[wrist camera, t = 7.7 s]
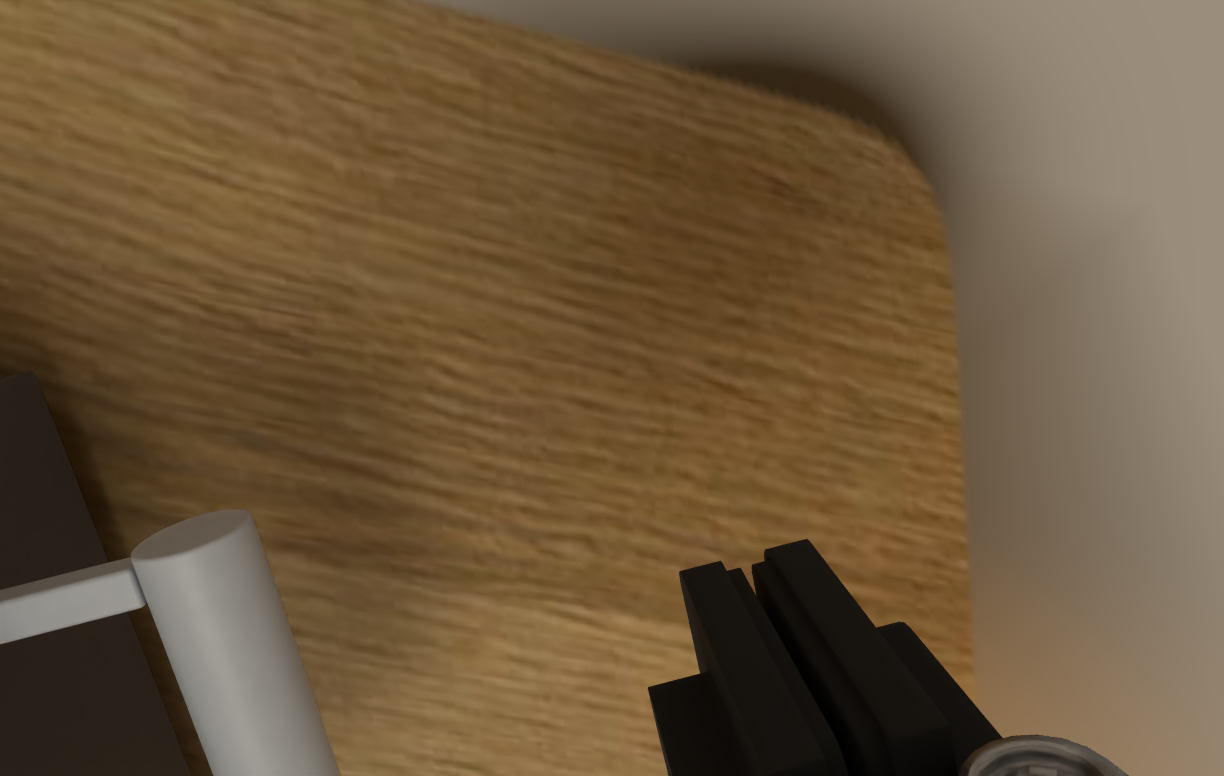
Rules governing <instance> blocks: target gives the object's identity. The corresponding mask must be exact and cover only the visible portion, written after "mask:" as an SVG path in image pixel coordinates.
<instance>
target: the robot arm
mask: <svg viewBox="0 0 1224 776" xmlns="http://www.w3.org/2000/svg"><path fill="white" fill-rule="evenodd" d="M764 559H765V561H764V562H760V563H756V564H752V575H753V580H754V586H755V591H756V595H755V593H754V591H753V589H752V587H751V586H750V584H749V582H748V580H747V579H746V577H745V575H744V573H743V571H742V570H741V568H737V569H733V570H729V571H726V569H725V567H724V565H723V563H722V562H721V561H718V562H714V563H710V564H706V565H702V566H698V567H694V568H690V569H687V570H683V571H679V576H680V582H681V587H682V592H683V596H684V601H685V606H686V610H687V615H688V619H689V624H690V629H691V633H692V638H693V642H694V647H695V652H696V656H697V661H698V665H699V670H700V674H697V675H693V676H689V677H685V678H681V679H678V680H674V681H670V682H666V683H662V684H658V685H655V686H651V687H648V691H649V696H650V700H651V704H652V709H653V713H654V717H655V721H656V726H657V730H658V734H659V738H660V743H661V747H662V751H663V755H664V759H665V763H666V767H667V771H668V775H669V776H1128V775H1127V774H1126V773H1124V772H1123V771H1122V770H1121V769H1119V768H1118V767H1117V766H1115V765H1114V764H1113V763H1112V762H1110V761H1109V760H1108V759H1106V758H1105V757H1103V756H1101V755H1100V754H1098V753H1096V752H1095V751H1093V750H1091V749H1090V748H1088V747H1086V746H1083V745H1080V744H1077V743H1074V742H1071V741H1069V740H1066V739H1063V738H1056V737H1049V736H1043V735H1020V736H1010V737H1006V738H1002V737H1001V736H1000V734H999V733H998V732H997V731H996V729H995V728H994V727H993V726H992V725H991V724H990V722H989V721H988V720H987V719H986V718H985V716H984V715H983V714H982V713H981V712H980V710H979V709H978V708H977V707H976V706H975V704H974V703H973V702H972V701H971V700H970V698H969V697H968V696H967V695H966V694H965V692H964V691H963V690H962V689H961V688H960V687H959V685H958V684H957V683H956V682H955V681H954V679H953V678H952V677H951V676H950V675H949V673H948V672H947V671H946V670H945V669H944V667H943V666H942V665H941V664H940V663H939V661H938V660H937V659H936V658H935V657H934V655H933V654H932V653H931V652H930V651H929V649H928V648H927V647H926V646H925V645H924V644H923V642H922V641H921V640H920V639H919V638H918V636H917V635H916V634H915V633H914V632H913V630H912V629H911V628H910V627H909V626H908V625H906V624H905V623H904V622H897V623H893V624H889V625H885V626H881V627H877V628H876V627H875V626H874V624H873V623H872V622H871V620H870V619H869V618H868V616H867V615H866V614H865V613H864V611H863V610H862V609H861V607H860V606H859V605H858V603H857V602H856V601H855V600H854V598H853V597H852V596H851V594H850V593H849V592H848V590H847V589H846V588H845V587H844V585H843V584H842V583H841V581H840V580H839V579H838V577H837V576H836V575H835V574H834V572H833V571H832V570H831V568H830V567H829V566H828V564H827V563H826V562H825V560H824V559H823V558H822V557H821V555H820V554H819V553H818V551H817V550H816V549H815V547H814V546H813V545H812V544H811V542H810V541H809V540H808V539H805V540H801V541H797V542H793V543H789V544H785V545H781V546H777V547H773V548H769V549H765V552H764Z"/></svg>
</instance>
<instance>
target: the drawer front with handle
mask: <svg viewBox="0 0 1224 776" xmlns="http://www.w3.org/2000/svg"><path fill="white" fill-rule="evenodd" d="M146 603H148V606H149V608H150V611H151V614H152V616H153V619H154V622H155V624H156V627H157V629H158V632H159V635H160V637H161V640H162V642H163V645H164V648H165V650H166V653H167V656H168V658H169V661H170V663H171V666H172V669H173V671H174V674H175V677H176V679H177V682H178V684H179V687H180V690H181V692H182V695H183V697H184V700H185V703H186V705H187V708H188V711H189V713H190V716H191V718H192V721H193V724H194V726H195V729H196V731H197V734H198V737H199V739H200V742H201V745H202V747H203V750H204V752H205V755H206V758H207V760H208V763H209V766H210V768H211V771H212V773H213V776H341V774H340V771H339V768H338V765H337V762H336V760H335V757H334V754H333V751H332V748H331V745H330V742H329V739H328V736H327V733H326V730H325V727H324V724H323V722H322V719H321V716H320V713H319V710H318V707H317V704H316V701H315V698H314V695H313V692H312V689H311V686H310V684H309V681H308V678H307V675H306V672H305V669H304V666H303V663H302V660H301V657H300V654H299V651H298V648H297V646H296V643H295V640H294V637H293V634H292V631H291V628H290V625H289V622H288V619H287V616H286V613H285V611H284V608H283V605H282V602H281V599H280V596H279V593H278V590H277V587H276V584H275V581H274V578H273V575H272V573H271V570H270V567H269V564H268V561H267V558H266V555H265V552H264V549H263V546H262V543H261V540H260V537H259V535H258V532H257V529H256V526H255V523H254V520H253V517H252V515H251V514H250V513H249V512H248V511H246V510H243V509H228V510H220V511H214V512H210V513H206V514H202V515H199V516H195V517H192V518H189V519H186V520H183V521H181V522H178V523H176V524H173V525H171V526H169V527H166V528H164V529H162V530H160V531H158V532H156V533H155V534H153V535H151V536H149V537H148V538H146V539H145V540H143V541H142V542H141V543H139V544H138V545H137V546H136V547H135V548H134V549H133V550H132V552H131V557H128V558H125V559H121V560H117V561H113V562H108V560H107V557H106V555H105V552H104V549H103V547H102V544H101V542H100V539H99V537H98V534H97V531H96V529H95V526H94V524H93V521H92V519H91V516H90V513H89V511H88V508H87V506H86V503H85V501H84V498H83V495H82V493H81V490H80V488H79V485H78V483H77V480H76V477H75V475H74V472H73V470H72V467H71V465H70V462H69V459H68V457H67V454H66V452H65V449H64V447H63V444H62V441H61V439H60V436H59V434H58V431H57V429H56V426H55V423H54V421H53V418H52V416H51V413H50V411H49V408H48V405H47V403H46V400H45V398H44V395H43V393H42V390H41V387H40V385H39V382H38V380H37V377H36V375H35V373H34V372H32V371H27V372H23V373H18V374H14V375H10V376H6V377H2V378H0V776H191V773H190V771H189V768H188V765H187V763H186V760H185V758H184V755H183V753H182V750H181V747H180V745H179V742H178V740H177V737H176V735H175V732H174V729H173V727H172V724H171V722H170V719H169V717H168V714H167V711H166V709H165V706H164V704H163V701H162V699H161V696H160V693H159V691H158V688H157V686H156V683H155V681H154V678H153V675H152V673H151V670H150V668H149V665H148V663H147V660H146V657H145V655H144V652H143V650H142V647H141V645H140V642H139V639H138V637H137V634H136V632H135V629H134V627H133V624H132V621H131V619H130V616H129V614H128V611H131V610H135V609H139V608H142V607H143V606H145V604H146Z"/></svg>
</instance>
